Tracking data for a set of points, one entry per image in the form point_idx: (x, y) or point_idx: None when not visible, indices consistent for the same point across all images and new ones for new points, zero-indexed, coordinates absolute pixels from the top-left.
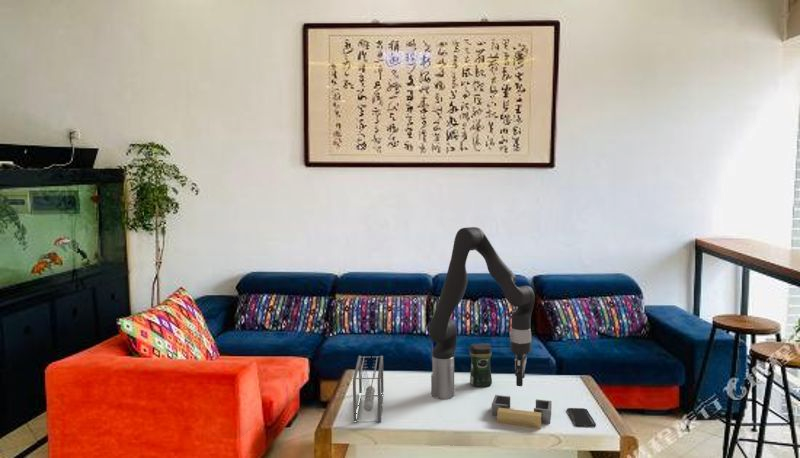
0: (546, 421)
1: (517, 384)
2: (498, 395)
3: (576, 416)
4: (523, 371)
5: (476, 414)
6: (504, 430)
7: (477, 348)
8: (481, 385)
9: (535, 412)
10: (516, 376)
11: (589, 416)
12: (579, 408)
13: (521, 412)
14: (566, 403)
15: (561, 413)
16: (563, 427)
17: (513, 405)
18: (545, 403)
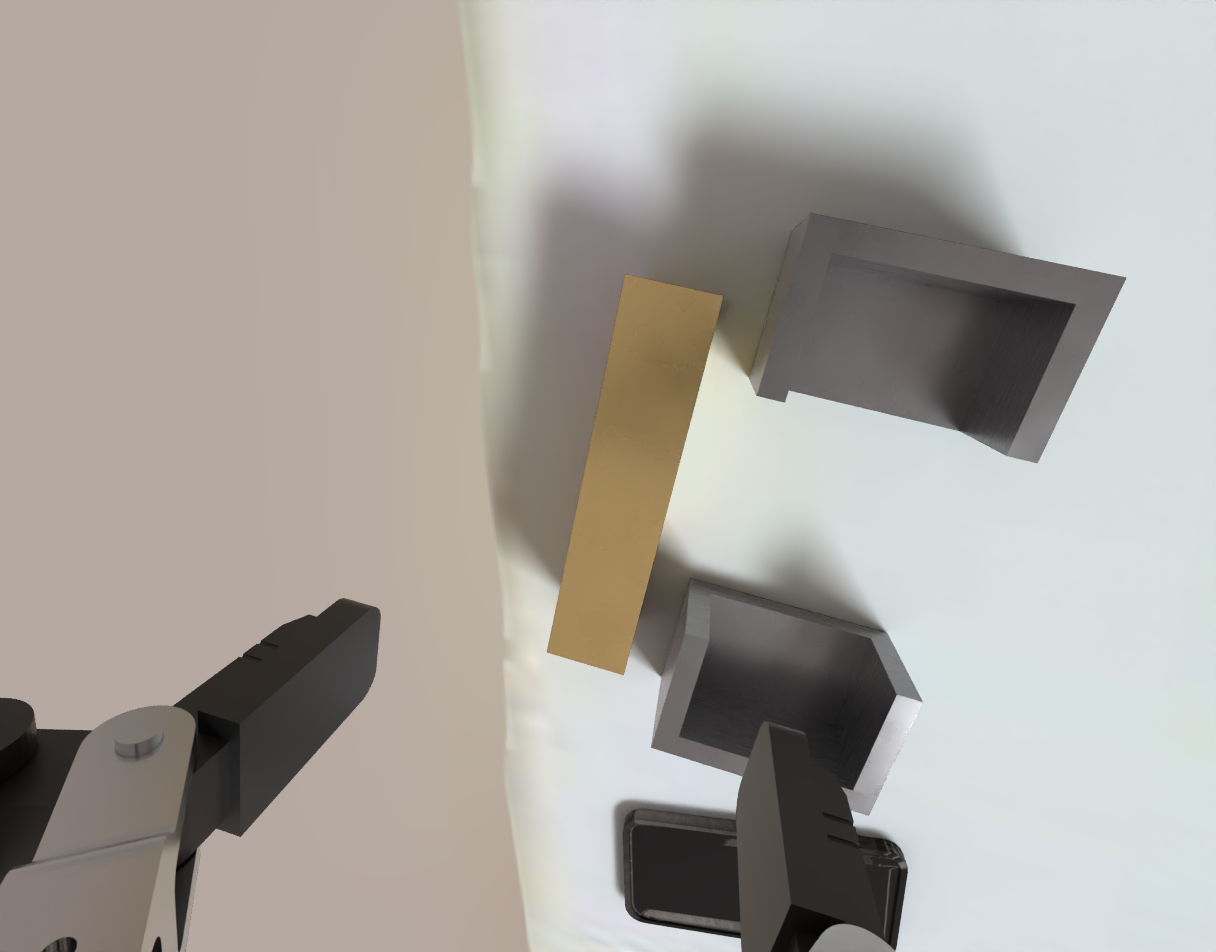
0: (666, 664)
1: (296, 622)
2: (1094, 318)
3: None
4: (748, 918)
5: (845, 60)
6: (517, 331)
7: None
8: None
9: (623, 629)
10: (200, 707)
11: None
12: (894, 926)
13: (613, 512)
14: (1034, 880)
15: None
16: (606, 740)
17: (1050, 471)
18: (858, 752)
